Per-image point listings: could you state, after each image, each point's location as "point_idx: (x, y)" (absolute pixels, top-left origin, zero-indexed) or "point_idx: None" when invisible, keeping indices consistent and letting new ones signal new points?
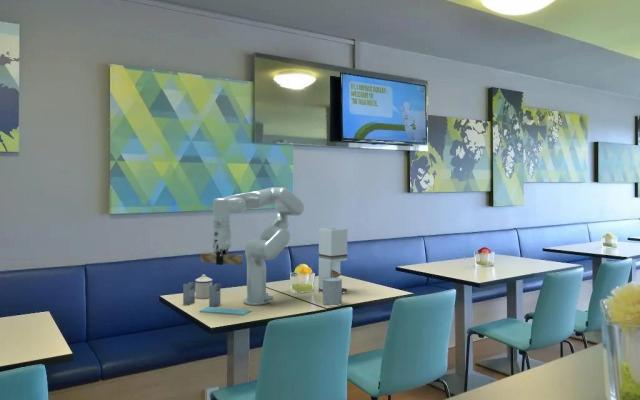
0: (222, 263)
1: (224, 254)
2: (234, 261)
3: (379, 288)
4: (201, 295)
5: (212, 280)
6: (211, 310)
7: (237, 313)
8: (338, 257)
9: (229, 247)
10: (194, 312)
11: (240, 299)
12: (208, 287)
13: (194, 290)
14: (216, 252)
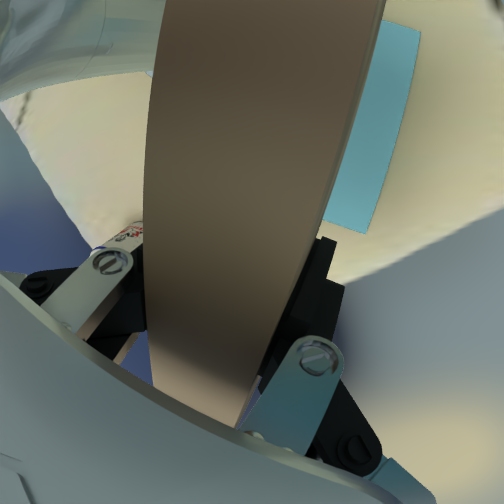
0: (333, 245)
1: (207, 302)
2: (376, 37)
3: None
4: None
5: (99, 248)
6: (361, 185)
7: (412, 59)
8: None
9: (5, 291)
10: (370, 249)
11: (146, 111)
12: (133, 248)
13: None
14: (393, 468)
